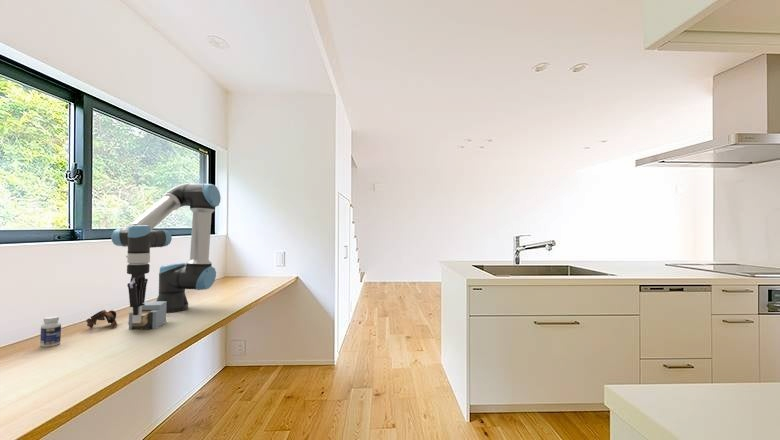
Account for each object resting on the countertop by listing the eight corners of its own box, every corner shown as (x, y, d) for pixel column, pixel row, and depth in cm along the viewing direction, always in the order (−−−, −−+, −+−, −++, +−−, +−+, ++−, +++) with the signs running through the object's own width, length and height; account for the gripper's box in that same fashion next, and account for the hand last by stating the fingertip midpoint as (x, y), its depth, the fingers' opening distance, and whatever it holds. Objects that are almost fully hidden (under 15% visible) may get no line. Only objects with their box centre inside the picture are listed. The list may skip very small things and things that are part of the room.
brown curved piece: (111, 331, 153) (99, 315, 150) (90, 341, 152) (77, 325, 150) (127, 317, 164) (116, 301, 162) (108, 326, 164) (96, 311, 162)
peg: (144, 318, 162) (144, 309, 162) (154, 318, 163) (154, 309, 163) (131, 326, 150) (132, 316, 150) (142, 326, 151) (143, 316, 151)
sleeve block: (141, 322, 166) (141, 301, 166) (166, 321, 168) (166, 301, 168) (128, 329, 153) (128, 307, 154) (155, 328, 156) (155, 307, 156)
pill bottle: (44, 348, 130) (45, 320, 130) (37, 345, 132) (37, 318, 132) (63, 343, 135) (64, 316, 135) (55, 341, 137) (56, 314, 137)
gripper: (135, 261, 155) (133, 318, 155) (120, 265, 143) (118, 327, 142) (155, 261, 157) (153, 318, 157) (142, 265, 144) (140, 326, 144)
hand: (136, 322), depth 150 cm, fingers closed
